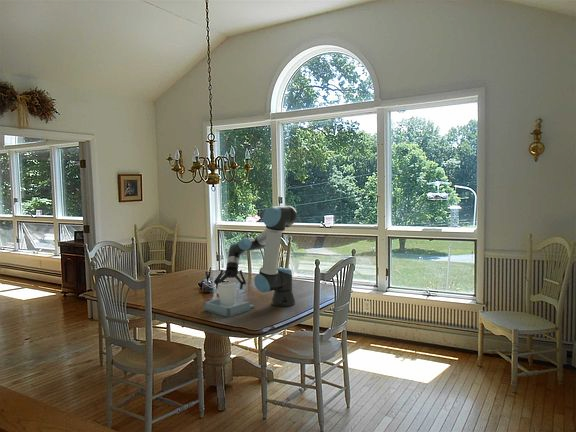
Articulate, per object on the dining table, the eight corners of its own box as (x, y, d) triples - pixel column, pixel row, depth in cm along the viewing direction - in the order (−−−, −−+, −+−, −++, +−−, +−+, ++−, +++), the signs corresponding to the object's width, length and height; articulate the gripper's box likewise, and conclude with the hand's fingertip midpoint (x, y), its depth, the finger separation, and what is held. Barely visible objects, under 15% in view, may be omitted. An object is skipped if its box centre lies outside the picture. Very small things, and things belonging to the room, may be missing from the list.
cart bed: (256, 307, 273) (255, 300, 273) (228, 316, 255) (228, 308, 255) (232, 302, 287) (231, 294, 287) (204, 310, 270) (204, 302, 269)
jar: (219, 310, 264) (219, 285, 263) (219, 305, 274) (218, 282, 273) (237, 308, 266) (236, 284, 265) (236, 304, 276) (235, 281, 275)
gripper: (252, 267, 288) (249, 296, 274) (215, 268, 290) (209, 296, 276) (250, 261, 282) (247, 290, 268) (212, 261, 284) (207, 290, 270)
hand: (228, 293), depth 272 cm, fingers open, 13 cm apart
